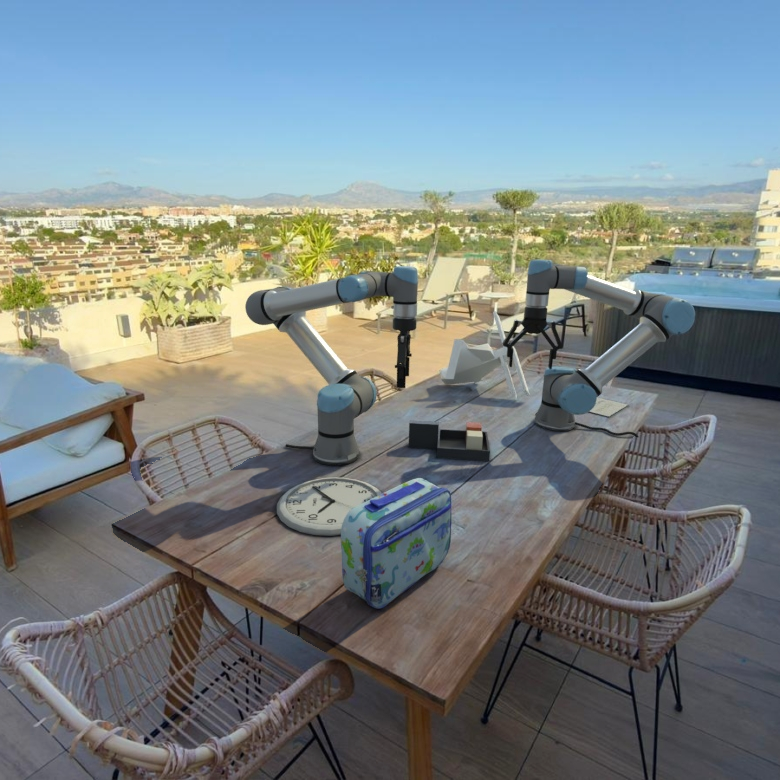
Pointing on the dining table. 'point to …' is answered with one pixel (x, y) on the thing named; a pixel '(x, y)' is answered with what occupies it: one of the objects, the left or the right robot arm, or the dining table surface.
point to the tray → (445, 441)
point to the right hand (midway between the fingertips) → (530, 367)
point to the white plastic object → (480, 363)
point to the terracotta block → (473, 427)
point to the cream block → (474, 440)
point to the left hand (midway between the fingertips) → (403, 381)
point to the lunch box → (395, 540)
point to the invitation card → (607, 407)
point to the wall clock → (323, 504)
